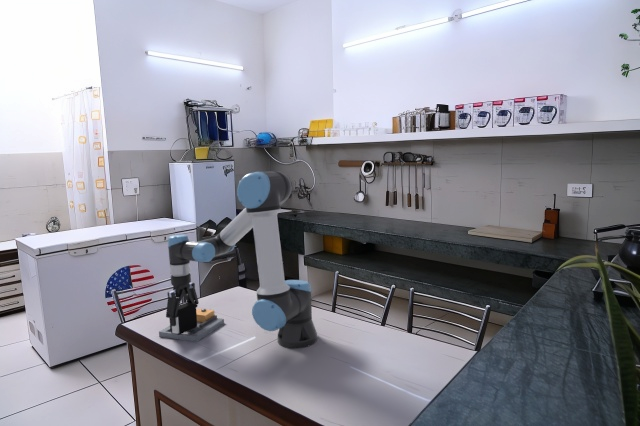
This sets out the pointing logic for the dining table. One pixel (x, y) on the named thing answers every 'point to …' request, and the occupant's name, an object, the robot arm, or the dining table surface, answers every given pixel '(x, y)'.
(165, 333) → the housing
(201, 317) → the orange block with knob
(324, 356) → the dining table surface
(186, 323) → the electronic device
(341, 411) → the dining table surface
